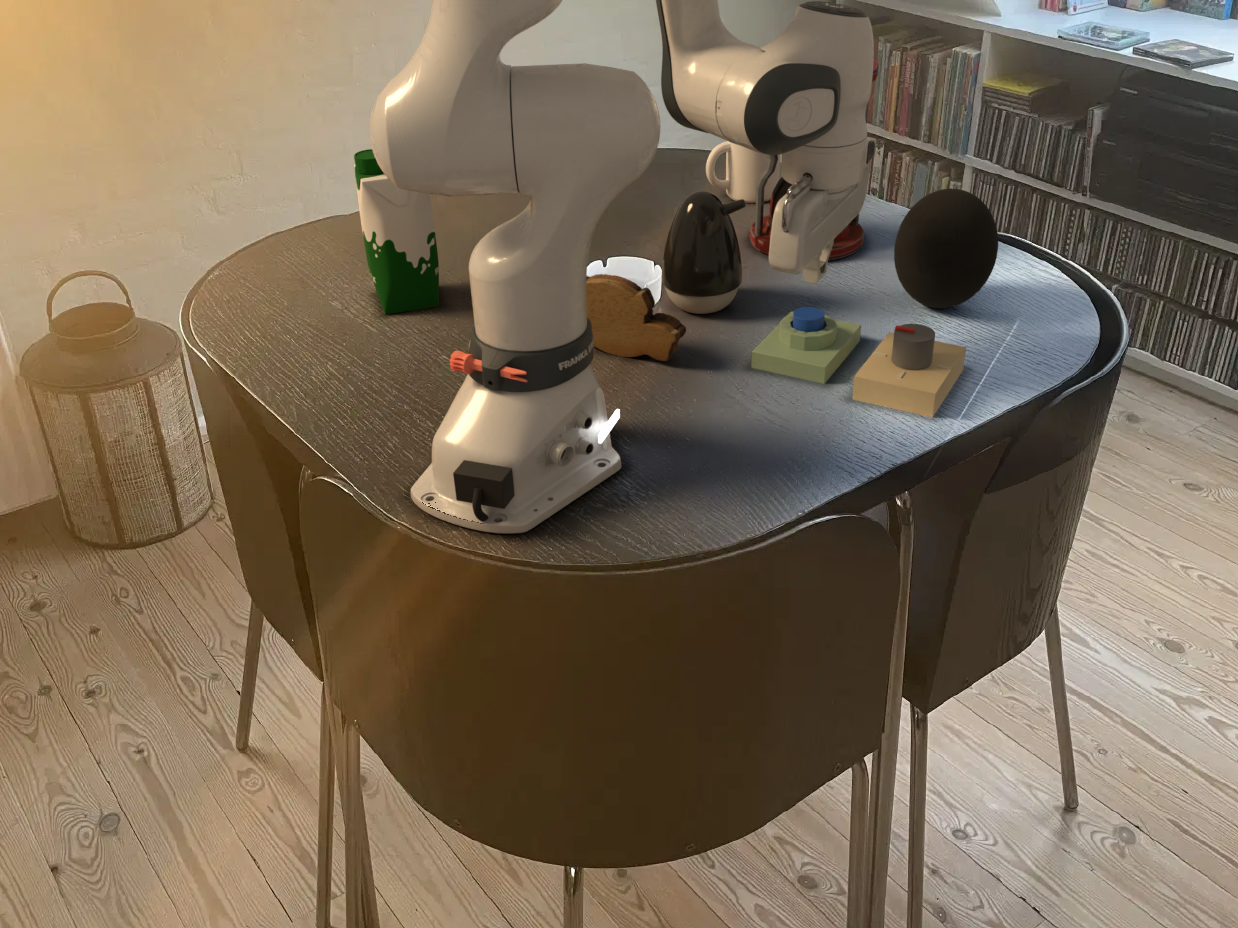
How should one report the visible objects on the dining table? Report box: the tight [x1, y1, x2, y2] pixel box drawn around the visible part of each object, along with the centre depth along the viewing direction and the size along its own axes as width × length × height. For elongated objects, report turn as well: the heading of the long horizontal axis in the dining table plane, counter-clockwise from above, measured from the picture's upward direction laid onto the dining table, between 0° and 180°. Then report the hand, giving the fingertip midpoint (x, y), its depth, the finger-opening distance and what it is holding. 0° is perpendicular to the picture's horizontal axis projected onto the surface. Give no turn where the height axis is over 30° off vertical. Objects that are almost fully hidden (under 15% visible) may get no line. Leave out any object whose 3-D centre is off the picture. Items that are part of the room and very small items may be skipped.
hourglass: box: [749, 59, 879, 261], centre depth 162 cm, size 16×16×25 cm
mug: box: [705, 140, 781, 204], centre depth 182 cm, size 12×8×10 cm
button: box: [793, 306, 826, 332], centre depth 137 cm, size 4×4×2 cm
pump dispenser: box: [661, 190, 747, 315], centre depth 147 cm, size 10×10×15 cm
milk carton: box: [353, 148, 440, 315], centre depth 150 cm, size 9×9×20 cm
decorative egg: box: [893, 188, 999, 309], centre depth 145 cm, size 12×12×15 cm
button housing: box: [751, 311, 862, 385], centre depth 138 cm, size 12×9×4 cm
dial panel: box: [852, 331, 967, 418], centre depth 131 cm, size 12×9×3 cm
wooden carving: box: [586, 273, 687, 362], centre depth 138 cm, size 16×5×10 cm, turn 64°
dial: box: [891, 323, 936, 370], centre depth 129 cm, size 4×4×4 cm
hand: (814, 278), depth 134 cm, fingers closed
